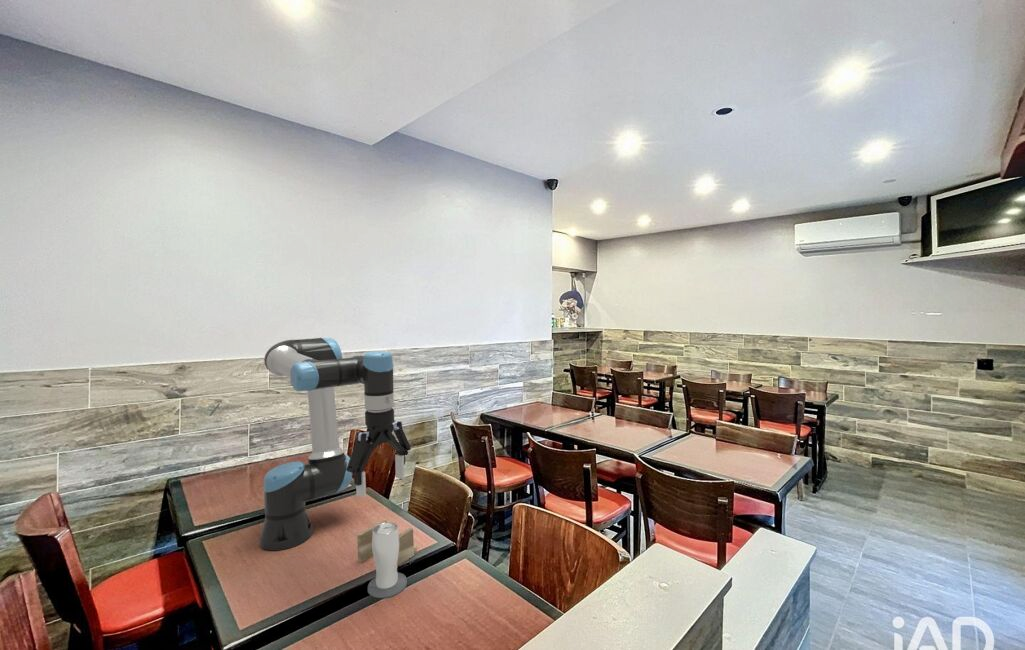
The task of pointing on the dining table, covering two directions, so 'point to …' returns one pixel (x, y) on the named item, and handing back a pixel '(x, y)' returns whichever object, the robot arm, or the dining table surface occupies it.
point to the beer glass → (386, 555)
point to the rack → (405, 544)
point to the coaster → (388, 593)
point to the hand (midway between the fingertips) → (381, 486)
